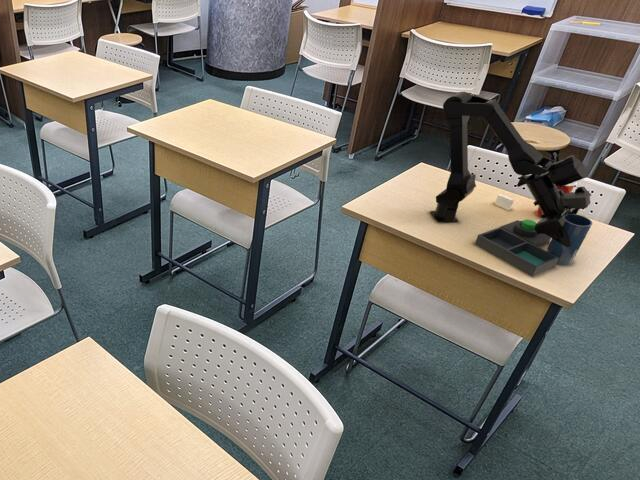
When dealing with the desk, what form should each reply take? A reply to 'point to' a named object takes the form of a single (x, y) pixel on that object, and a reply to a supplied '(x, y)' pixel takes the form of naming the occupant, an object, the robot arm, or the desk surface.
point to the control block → (526, 233)
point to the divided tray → (516, 251)
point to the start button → (528, 224)
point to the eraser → (504, 202)
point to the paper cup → (566, 190)
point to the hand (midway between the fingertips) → (573, 241)
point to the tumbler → (570, 238)
